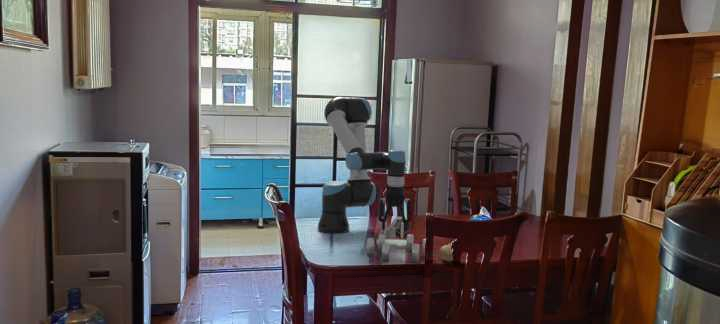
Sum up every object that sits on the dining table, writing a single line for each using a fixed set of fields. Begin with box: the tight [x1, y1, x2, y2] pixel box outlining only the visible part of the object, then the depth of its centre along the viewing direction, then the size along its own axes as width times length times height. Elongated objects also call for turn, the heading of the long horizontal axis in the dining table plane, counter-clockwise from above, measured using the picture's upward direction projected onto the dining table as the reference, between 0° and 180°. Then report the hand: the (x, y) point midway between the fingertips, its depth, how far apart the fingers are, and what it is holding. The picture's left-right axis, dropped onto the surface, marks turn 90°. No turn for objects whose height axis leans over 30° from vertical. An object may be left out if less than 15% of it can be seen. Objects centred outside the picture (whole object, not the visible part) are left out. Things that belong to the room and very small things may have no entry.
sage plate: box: [375, 238, 406, 250], centre depth 237 cm, size 14×10×1 cm
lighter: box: [386, 219, 401, 240], centre depth 236 cm, size 7×2×8 cm, turn 127°
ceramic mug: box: [387, 216, 411, 235], centre depth 260 cm, size 11×8×8 cm
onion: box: [438, 242, 452, 263], centre depth 217 cm, size 8×8×7 cm
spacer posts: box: [365, 233, 427, 264], centre depth 221 cm, size 26×18×7 cm
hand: (393, 237), depth 237 cm, fingers closed on lighter, 7 cm apart
